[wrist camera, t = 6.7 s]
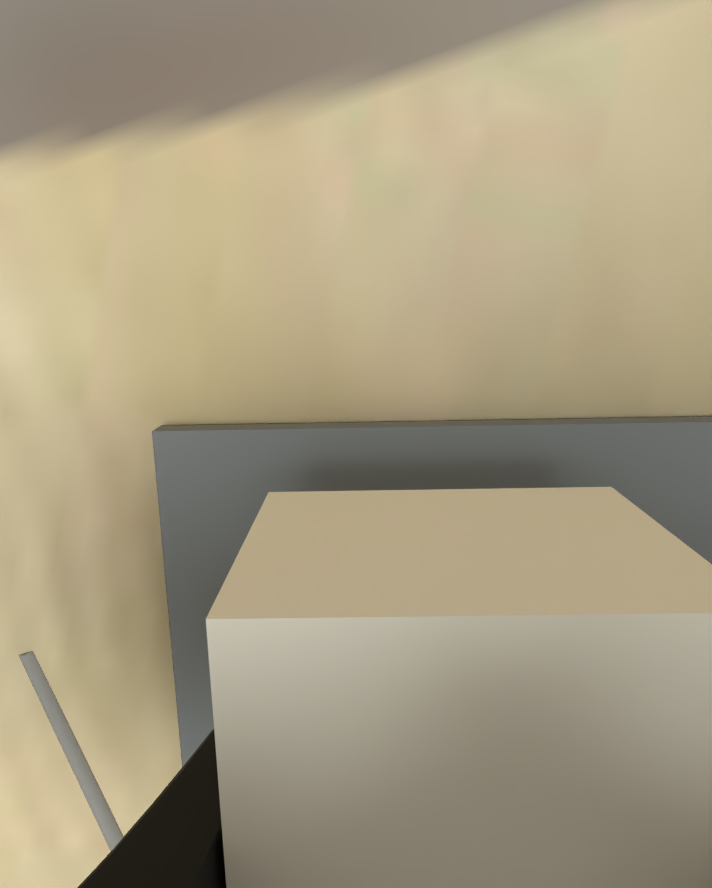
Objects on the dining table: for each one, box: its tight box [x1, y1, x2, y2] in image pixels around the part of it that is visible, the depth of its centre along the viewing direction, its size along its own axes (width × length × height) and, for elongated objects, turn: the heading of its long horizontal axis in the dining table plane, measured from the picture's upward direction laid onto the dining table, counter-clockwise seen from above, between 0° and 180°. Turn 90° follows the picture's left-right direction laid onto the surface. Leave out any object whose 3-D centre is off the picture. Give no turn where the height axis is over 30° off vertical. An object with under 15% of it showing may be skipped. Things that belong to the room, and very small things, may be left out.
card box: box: [206, 487, 712, 888], centre depth 8 cm, size 7×4×4 cm, turn 1°
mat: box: [152, 416, 712, 767], centre depth 12 cm, size 18×8×1 cm, turn 91°
